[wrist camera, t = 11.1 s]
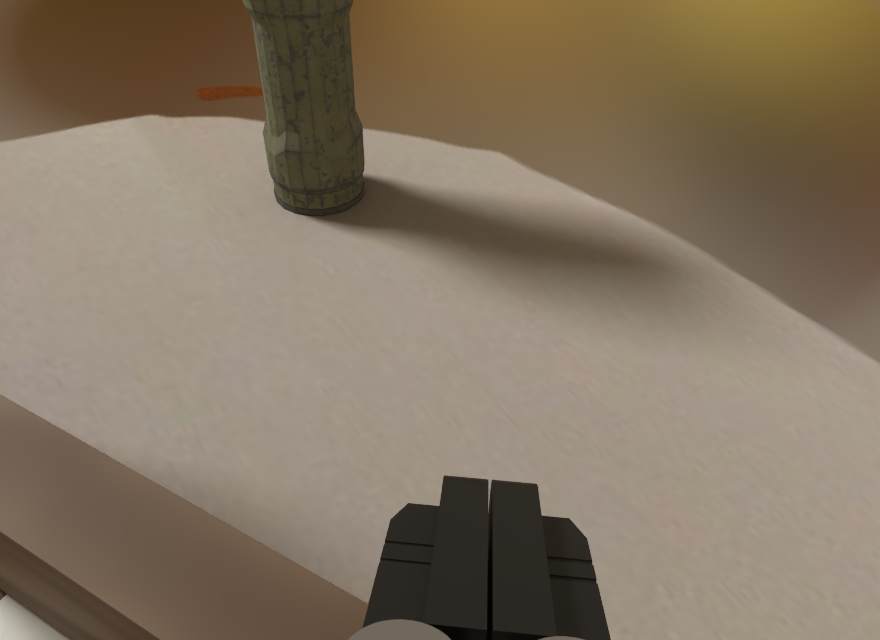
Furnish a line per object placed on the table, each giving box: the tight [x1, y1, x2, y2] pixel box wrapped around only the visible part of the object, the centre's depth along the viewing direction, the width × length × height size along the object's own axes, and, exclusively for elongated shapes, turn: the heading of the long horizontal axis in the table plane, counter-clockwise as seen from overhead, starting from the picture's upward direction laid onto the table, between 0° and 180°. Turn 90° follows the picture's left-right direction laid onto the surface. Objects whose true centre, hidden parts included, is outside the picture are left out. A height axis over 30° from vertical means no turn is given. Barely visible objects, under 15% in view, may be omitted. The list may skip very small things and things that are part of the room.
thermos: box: [243, 0, 364, 215], centre depth 56 cm, size 9×12×35 cm
